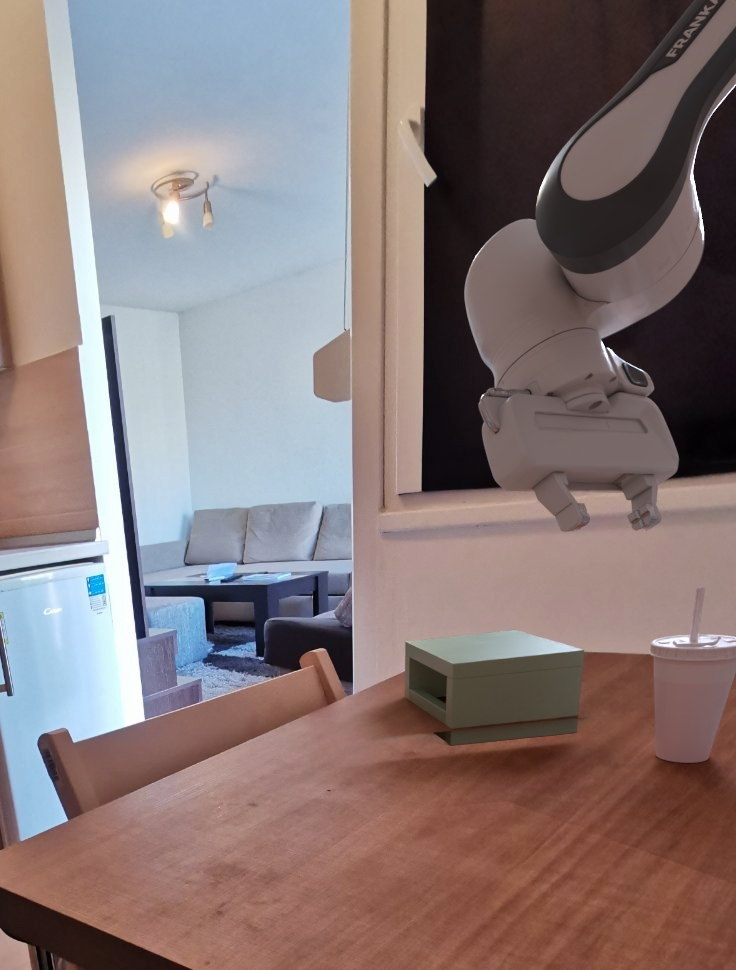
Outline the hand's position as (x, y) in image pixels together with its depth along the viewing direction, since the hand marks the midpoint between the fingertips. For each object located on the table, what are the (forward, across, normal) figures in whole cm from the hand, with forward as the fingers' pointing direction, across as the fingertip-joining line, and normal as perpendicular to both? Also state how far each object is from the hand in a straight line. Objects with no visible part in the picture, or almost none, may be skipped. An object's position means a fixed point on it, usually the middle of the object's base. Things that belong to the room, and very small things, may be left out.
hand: (613, 527), depth 66 cm
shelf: (+11, -2, +18) cm, 21 cm away
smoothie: (+21, 0, +2) cm, 21 cm away
